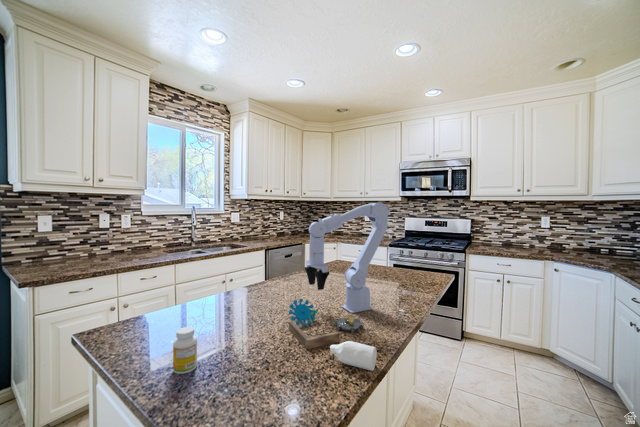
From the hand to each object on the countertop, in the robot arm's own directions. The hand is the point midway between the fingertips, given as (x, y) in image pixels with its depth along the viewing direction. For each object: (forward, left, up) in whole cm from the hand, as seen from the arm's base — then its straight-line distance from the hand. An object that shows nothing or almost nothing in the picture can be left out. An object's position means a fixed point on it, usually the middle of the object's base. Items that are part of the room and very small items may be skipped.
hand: (316, 286), depth 110 cm
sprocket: (-4, +18, -9) cm, 21 cm away
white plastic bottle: (+8, +37, -10) cm, 39 cm away
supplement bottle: (+47, +21, -10) cm, 52 cm away
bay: (+10, +19, -9) cm, 23 cm away
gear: (+9, +8, -10) cm, 15 cm away
